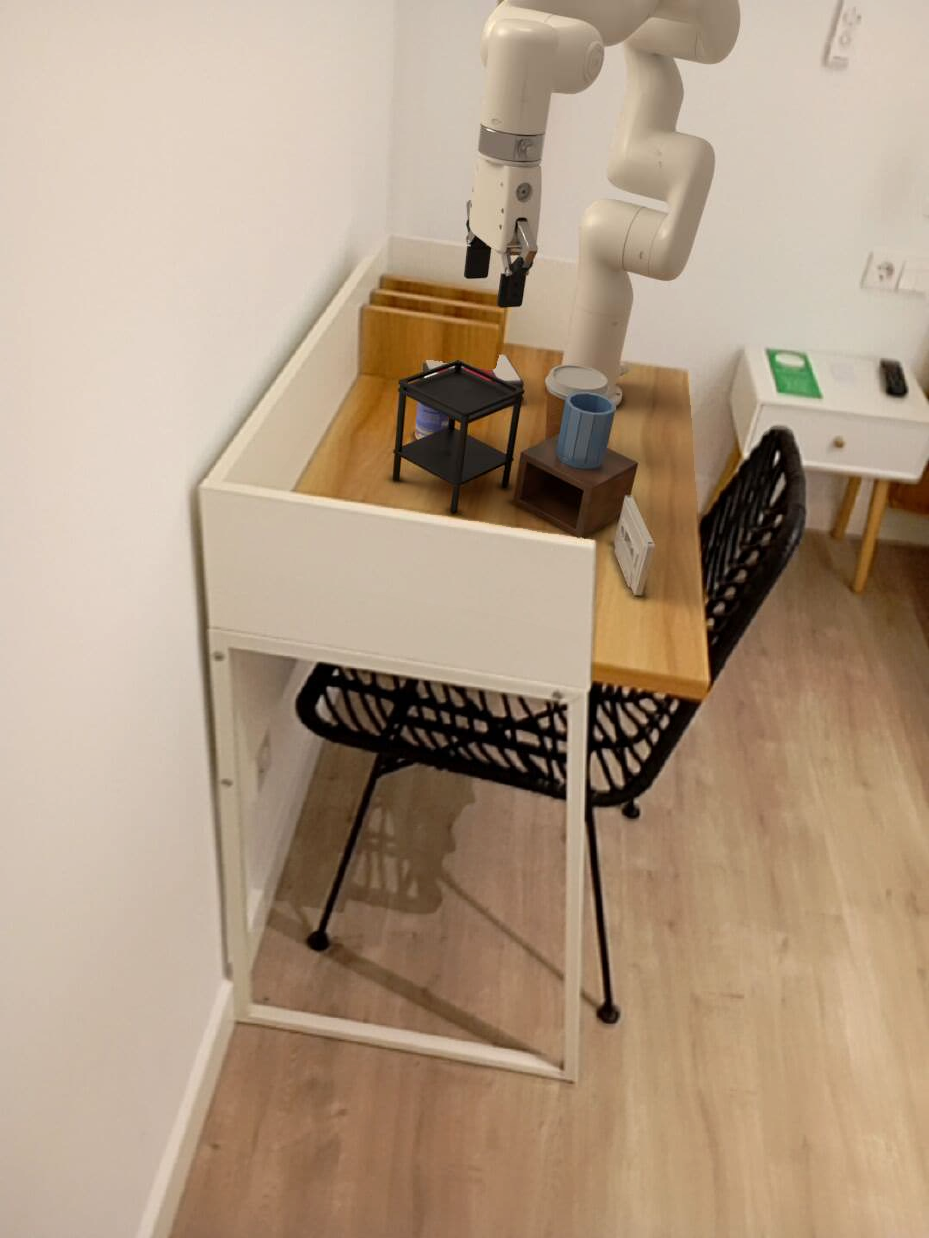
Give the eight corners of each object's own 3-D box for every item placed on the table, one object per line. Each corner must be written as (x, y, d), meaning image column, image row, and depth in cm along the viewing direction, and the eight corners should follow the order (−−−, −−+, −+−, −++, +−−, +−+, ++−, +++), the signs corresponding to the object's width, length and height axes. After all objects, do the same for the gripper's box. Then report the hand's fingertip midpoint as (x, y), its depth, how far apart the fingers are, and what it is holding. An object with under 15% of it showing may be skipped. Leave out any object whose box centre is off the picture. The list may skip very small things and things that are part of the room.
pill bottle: (445, 449, 152) (452, 389, 146) (410, 442, 153) (416, 382, 147) (453, 433, 156) (460, 374, 150) (419, 426, 157) (424, 367, 151)
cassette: (609, 543, 136) (621, 494, 131) (623, 543, 136) (635, 494, 132) (630, 596, 127) (644, 545, 122) (645, 597, 127) (659, 546, 122)
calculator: (421, 354, 170) (507, 350, 173) (420, 378, 172) (504, 374, 176) (434, 383, 161) (525, 378, 165) (433, 407, 164) (522, 403, 167)
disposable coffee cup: (554, 429, 161) (567, 357, 154) (606, 450, 158) (622, 378, 150) (522, 448, 155) (534, 375, 148) (575, 471, 151) (590, 396, 144)
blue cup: (575, 440, 141) (585, 387, 136) (613, 459, 138) (625, 405, 133) (546, 454, 137) (556, 400, 132) (585, 474, 134) (596, 419, 129)
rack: (447, 454, 151) (458, 359, 142) (509, 487, 145) (524, 390, 136) (390, 479, 143) (398, 380, 134) (453, 515, 137) (466, 414, 128)
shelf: (559, 478, 149) (568, 429, 144) (626, 512, 143) (638, 462, 138) (512, 502, 142) (520, 451, 137) (581, 539, 136) (592, 487, 131)
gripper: (575, 166, 112) (550, 316, 122) (507, 126, 124) (489, 266, 134) (515, 165, 109) (494, 320, 119) (450, 125, 121) (437, 268, 131)
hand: (492, 291), depth 126 cm, fingers open, 9 cm apart
